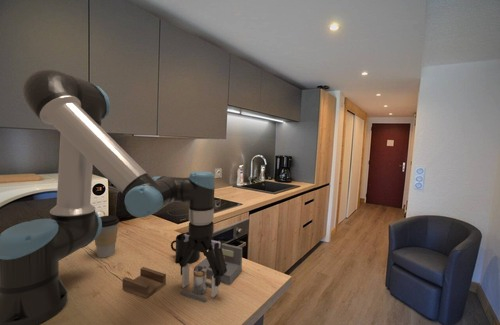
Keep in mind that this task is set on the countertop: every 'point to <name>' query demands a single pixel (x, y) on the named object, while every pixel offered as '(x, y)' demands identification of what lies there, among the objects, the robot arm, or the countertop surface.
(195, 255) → the mug
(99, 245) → the coffee cup
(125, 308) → the countertop surface
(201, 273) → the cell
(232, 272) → the grey blocks and bars
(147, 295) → the trough
